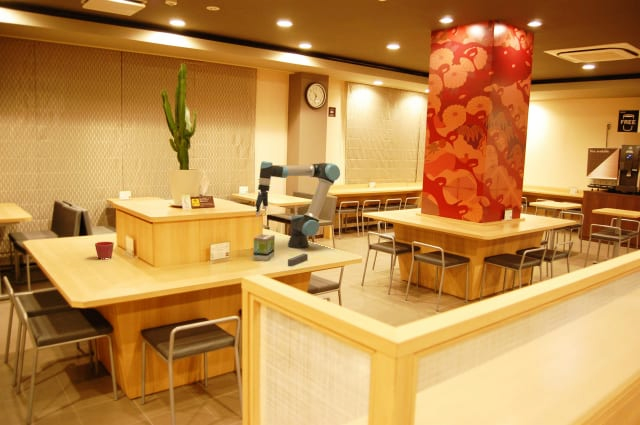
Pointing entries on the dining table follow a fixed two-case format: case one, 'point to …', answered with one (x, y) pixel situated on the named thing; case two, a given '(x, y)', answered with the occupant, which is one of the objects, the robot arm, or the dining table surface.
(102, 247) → the flower pot
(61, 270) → the dining table surface
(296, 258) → the rail
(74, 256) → the dining table surface
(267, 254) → the tea box
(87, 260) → the dining table surface
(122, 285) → the dining table surface
